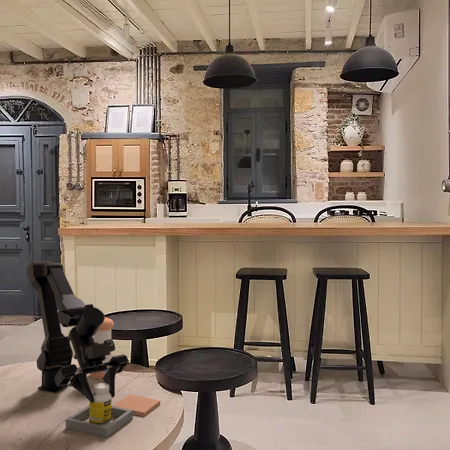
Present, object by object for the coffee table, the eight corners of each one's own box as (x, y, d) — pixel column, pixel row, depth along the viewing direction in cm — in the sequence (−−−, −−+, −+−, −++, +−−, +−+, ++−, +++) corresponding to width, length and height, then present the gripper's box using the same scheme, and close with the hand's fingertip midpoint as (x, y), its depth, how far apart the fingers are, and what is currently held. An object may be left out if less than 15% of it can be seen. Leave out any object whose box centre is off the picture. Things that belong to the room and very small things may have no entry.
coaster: (111, 409, 143) (112, 405, 142) (129, 397, 151) (129, 394, 151) (144, 416, 139) (144, 412, 139) (160, 404, 147) (160, 400, 147)
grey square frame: (65, 427, 130) (65, 419, 130) (94, 410, 142) (94, 402, 142) (106, 437, 126) (106, 428, 126) (132, 418, 137) (132, 410, 137)
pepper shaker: (95, 370, 173) (96, 312, 172) (116, 372, 172) (117, 314, 171) (86, 377, 166) (87, 317, 165) (108, 379, 165) (109, 319, 164)
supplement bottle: (105, 429, 131) (106, 390, 130) (85, 426, 132) (86, 388, 131) (114, 420, 136) (115, 383, 135) (94, 417, 137) (95, 380, 137)
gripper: (60, 335, 129) (79, 392, 122) (126, 324, 142) (147, 376, 134) (47, 358, 136) (64, 414, 128) (111, 346, 148) (130, 397, 140)
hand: (103, 399), depth 133 cm, fingers closed on supplement bottle, 5 cm apart
